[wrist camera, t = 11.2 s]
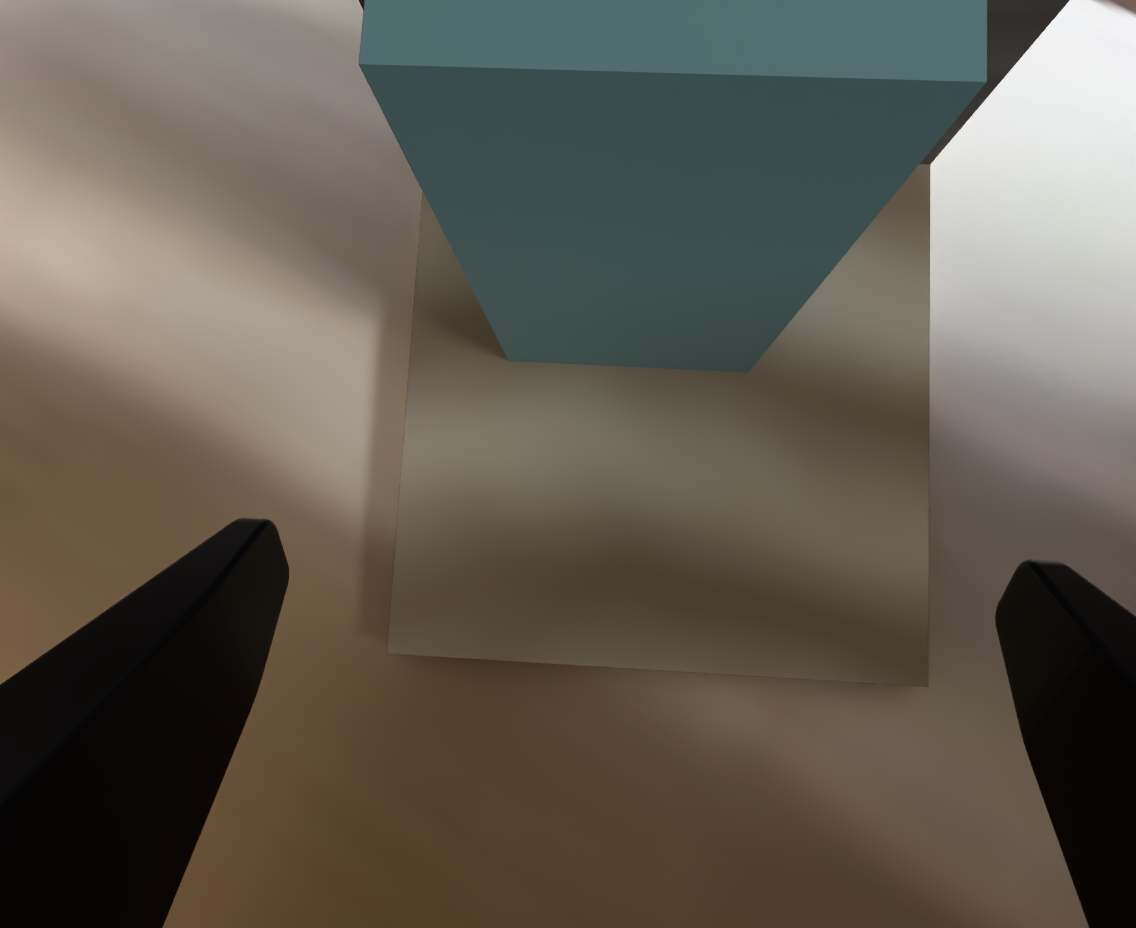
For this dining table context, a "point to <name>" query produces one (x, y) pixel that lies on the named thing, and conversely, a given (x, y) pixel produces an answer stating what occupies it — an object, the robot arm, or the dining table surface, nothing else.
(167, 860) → the robot arm
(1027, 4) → the grey l-shaped bracket
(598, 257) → the tall teal pillar
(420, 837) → the dining table surface
